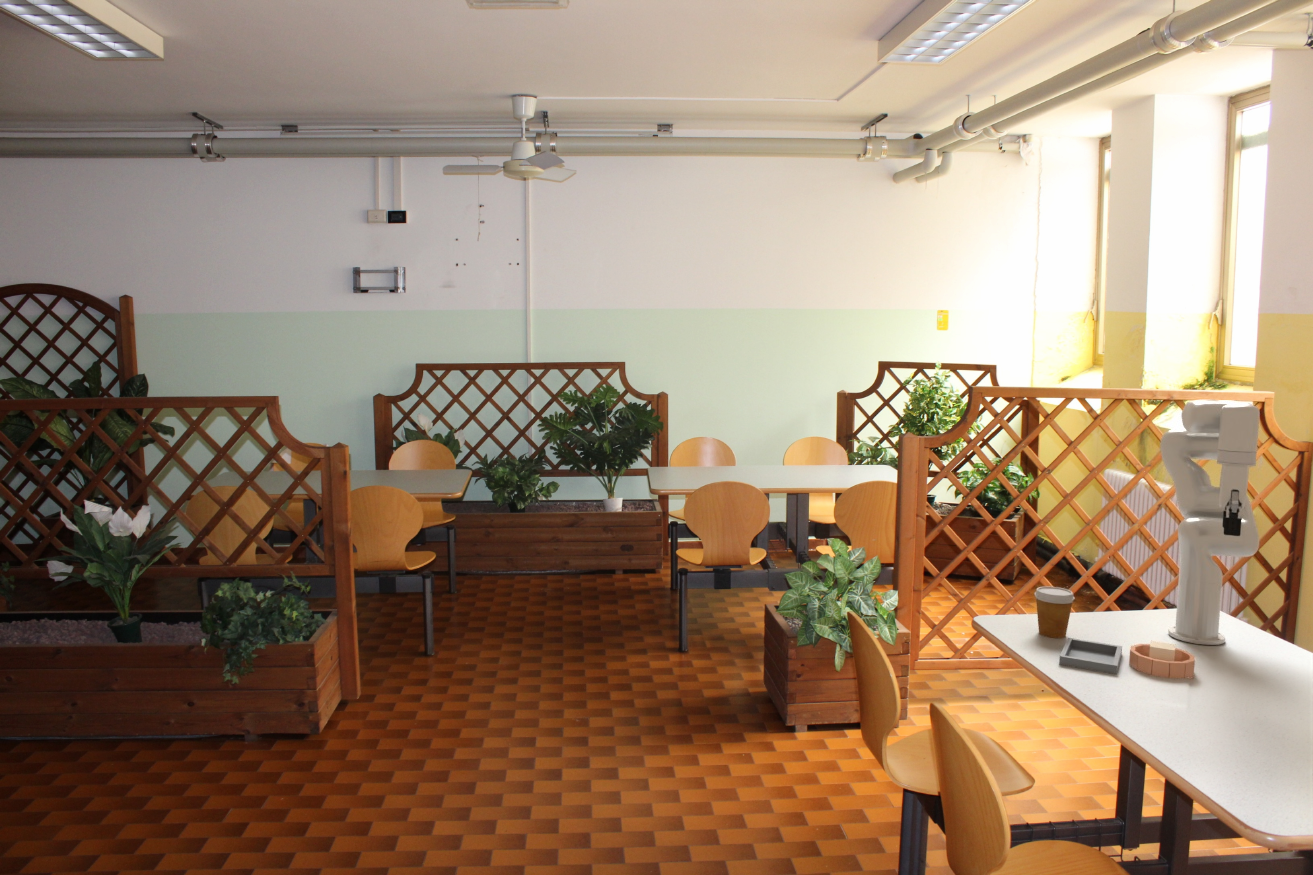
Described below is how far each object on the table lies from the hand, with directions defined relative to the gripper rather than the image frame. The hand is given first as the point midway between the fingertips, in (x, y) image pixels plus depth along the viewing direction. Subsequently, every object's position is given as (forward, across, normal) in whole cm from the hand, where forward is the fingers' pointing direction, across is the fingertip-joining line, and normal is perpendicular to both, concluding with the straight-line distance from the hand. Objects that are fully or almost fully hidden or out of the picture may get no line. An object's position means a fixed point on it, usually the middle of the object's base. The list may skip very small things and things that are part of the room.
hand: (1231, 531), depth 206 cm
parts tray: (+32, +12, -26) cm, 44 cm away
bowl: (+32, +10, -12) cm, 36 cm away
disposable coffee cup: (+32, -3, -37) cm, 49 cm away
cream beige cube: (+32, +10, -12) cm, 35 cm away
